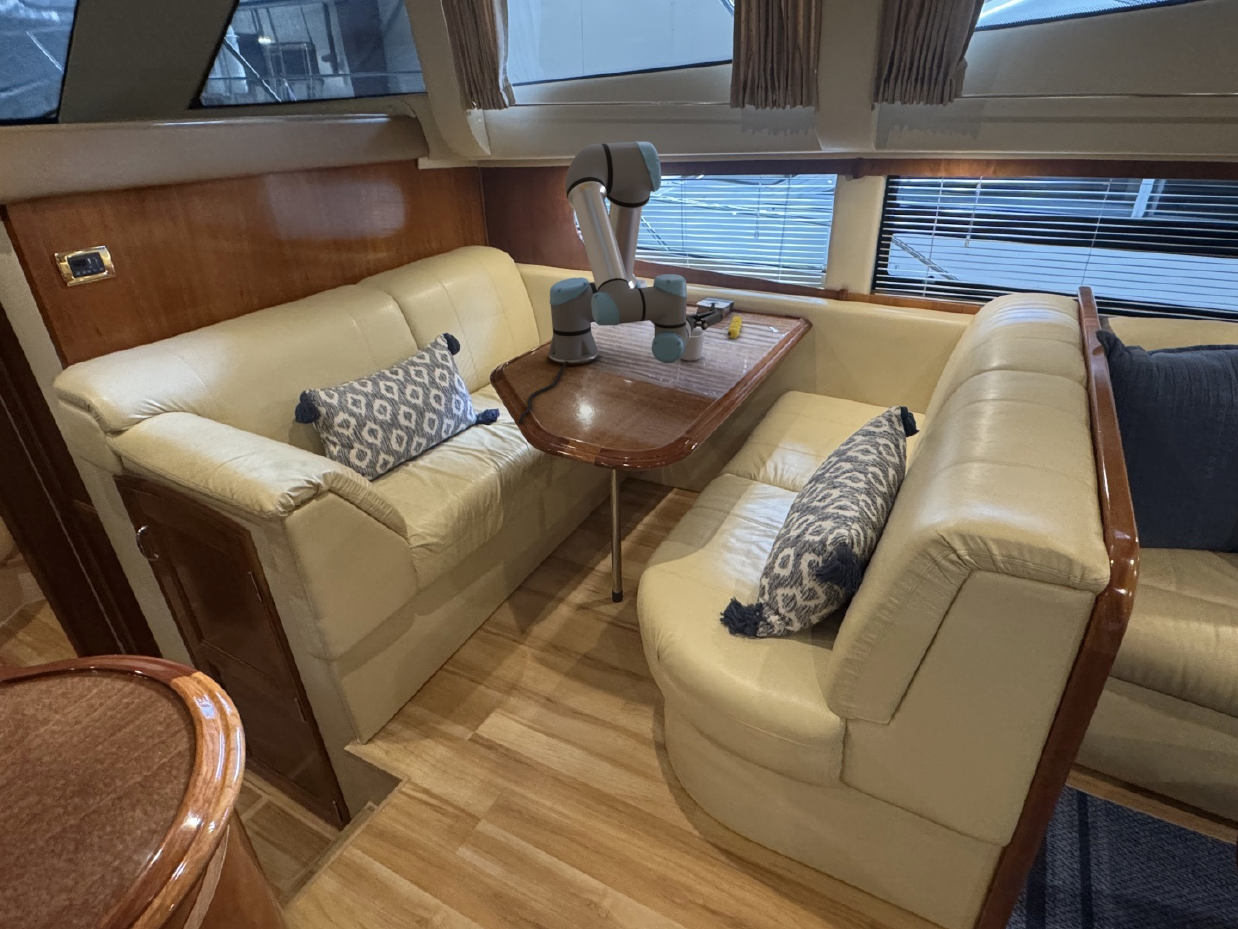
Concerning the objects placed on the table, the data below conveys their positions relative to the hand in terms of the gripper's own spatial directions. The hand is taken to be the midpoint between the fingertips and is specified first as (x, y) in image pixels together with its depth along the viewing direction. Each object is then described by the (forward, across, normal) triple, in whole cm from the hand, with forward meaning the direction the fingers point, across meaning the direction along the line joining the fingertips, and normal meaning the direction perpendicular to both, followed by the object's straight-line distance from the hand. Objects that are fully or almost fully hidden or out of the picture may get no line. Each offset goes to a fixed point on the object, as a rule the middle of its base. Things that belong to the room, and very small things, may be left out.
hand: (688, 306), depth 185 cm
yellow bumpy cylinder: (+36, +11, -18) cm, 41 cm away
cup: (+10, 0, -18) cm, 21 cm away
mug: (+47, -28, -18) cm, 57 cm away
